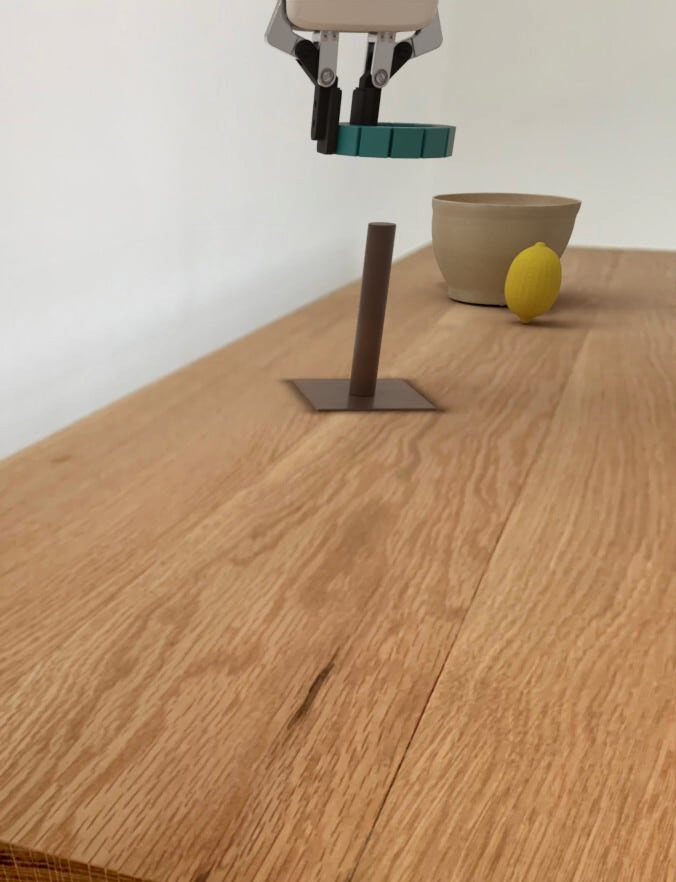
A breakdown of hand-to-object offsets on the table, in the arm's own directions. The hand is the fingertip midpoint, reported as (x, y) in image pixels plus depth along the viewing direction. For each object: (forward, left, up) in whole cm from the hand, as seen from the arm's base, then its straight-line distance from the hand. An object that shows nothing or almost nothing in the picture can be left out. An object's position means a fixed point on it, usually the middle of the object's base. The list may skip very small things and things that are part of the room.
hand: (341, 151), depth 77 cm
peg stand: (-3, 0, -18) cm, 18 cm away
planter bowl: (-31, -49, -18) cm, 61 cm away
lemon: (-30, -35, -18) cm, 50 cm away
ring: (-3, 0, 0) cm, 3 cm away
